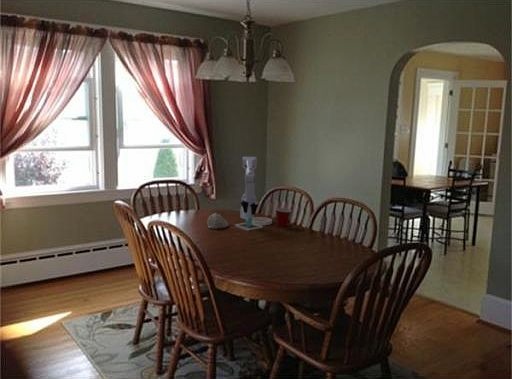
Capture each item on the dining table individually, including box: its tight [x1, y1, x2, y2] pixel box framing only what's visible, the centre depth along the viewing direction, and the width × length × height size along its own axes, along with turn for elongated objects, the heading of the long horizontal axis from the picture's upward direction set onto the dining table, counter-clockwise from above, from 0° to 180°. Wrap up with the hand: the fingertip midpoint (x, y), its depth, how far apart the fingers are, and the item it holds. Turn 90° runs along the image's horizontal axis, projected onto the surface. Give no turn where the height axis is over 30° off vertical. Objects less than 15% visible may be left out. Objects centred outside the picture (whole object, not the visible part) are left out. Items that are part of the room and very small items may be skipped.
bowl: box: [252, 216, 273, 226], centre depth 314 cm, size 15×15×3 cm
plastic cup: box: [274, 207, 292, 228], centre depth 307 cm, size 11×11×12 cm
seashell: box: [206, 212, 229, 230], centre depth 303 cm, size 12×14×10 cm
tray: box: [234, 222, 264, 232], centre depth 302 cm, size 14×12×2 cm
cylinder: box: [245, 217, 253, 228], centre depth 302 cm, size 4×4×6 cm
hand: (249, 213), depth 301 cm, fingers open, 7 cm apart
